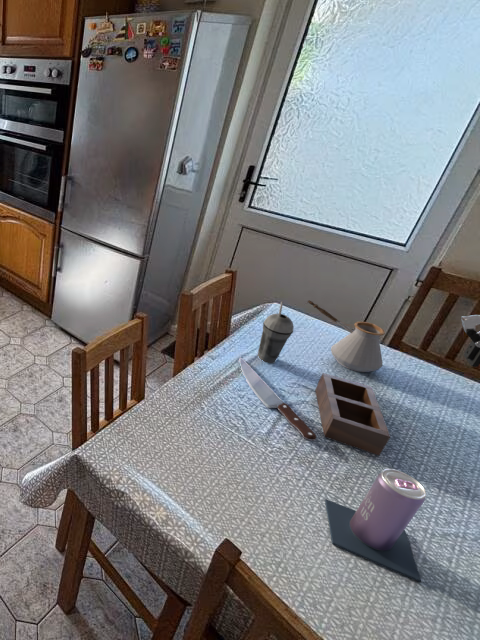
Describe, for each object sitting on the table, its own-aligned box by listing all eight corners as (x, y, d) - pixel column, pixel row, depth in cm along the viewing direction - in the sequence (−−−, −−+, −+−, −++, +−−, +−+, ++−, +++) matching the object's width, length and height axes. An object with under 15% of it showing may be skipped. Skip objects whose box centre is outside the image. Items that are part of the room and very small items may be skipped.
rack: (315, 389, 113) (322, 372, 110) (362, 403, 108) (372, 386, 105) (324, 437, 99) (333, 418, 96) (379, 455, 94) (390, 437, 91)
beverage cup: (284, 368, 121) (307, 311, 112) (255, 363, 123) (275, 306, 114) (276, 353, 127) (298, 298, 118) (249, 348, 129) (268, 294, 121)
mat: (403, 531, 79) (405, 530, 79) (420, 582, 71) (421, 581, 71) (324, 500, 85) (325, 498, 84) (332, 544, 77) (332, 542, 77)
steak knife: (297, 442, 97) (300, 436, 96) (224, 359, 125) (226, 354, 124) (317, 443, 97) (320, 437, 96) (240, 360, 125) (242, 355, 124)
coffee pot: (382, 365, 121) (404, 323, 115) (373, 382, 115) (396, 338, 109) (296, 332, 137) (312, 293, 130) (284, 345, 130) (299, 305, 124)
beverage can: (397, 557, 74) (436, 503, 68) (357, 546, 76) (391, 493, 70) (380, 525, 79) (414, 473, 73) (342, 516, 81) (373, 463, 75)
